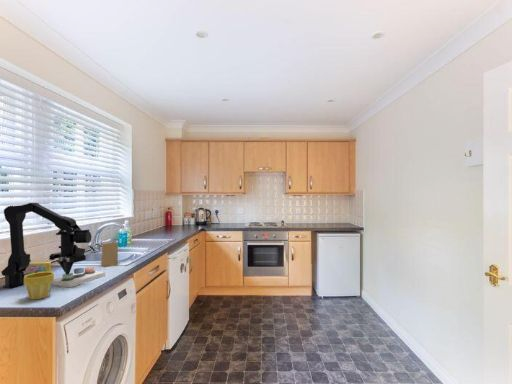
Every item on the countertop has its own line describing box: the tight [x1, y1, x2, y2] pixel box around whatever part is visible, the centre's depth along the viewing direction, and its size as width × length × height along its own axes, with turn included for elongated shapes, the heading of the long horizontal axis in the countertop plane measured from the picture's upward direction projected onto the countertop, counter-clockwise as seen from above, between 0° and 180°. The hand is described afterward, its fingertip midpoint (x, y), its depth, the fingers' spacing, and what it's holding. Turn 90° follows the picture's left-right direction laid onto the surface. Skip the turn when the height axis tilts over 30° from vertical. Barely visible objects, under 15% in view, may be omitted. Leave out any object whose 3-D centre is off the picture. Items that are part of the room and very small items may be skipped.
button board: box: [51, 270, 106, 288], centre depth 144 cm, size 20×14×2 cm
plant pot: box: [23, 271, 55, 301], centre depth 120 cm, size 10×10×10 cm
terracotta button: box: [84, 266, 95, 273], centre depth 149 cm, size 4×4×2 cm
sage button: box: [61, 272, 74, 279], centre depth 138 cm, size 4×4×2 cm
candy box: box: [22, 261, 52, 276], centre depth 148 cm, size 16×2×8 cm, turn 95°
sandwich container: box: [100, 241, 119, 268], centre depth 177 cm, size 9×15×15 cm, turn 33°
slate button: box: [73, 267, 85, 274], centre depth 144 cm, size 4×4×2 cm
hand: (67, 274), depth 138 cm, fingers closed, pressing on sage button
